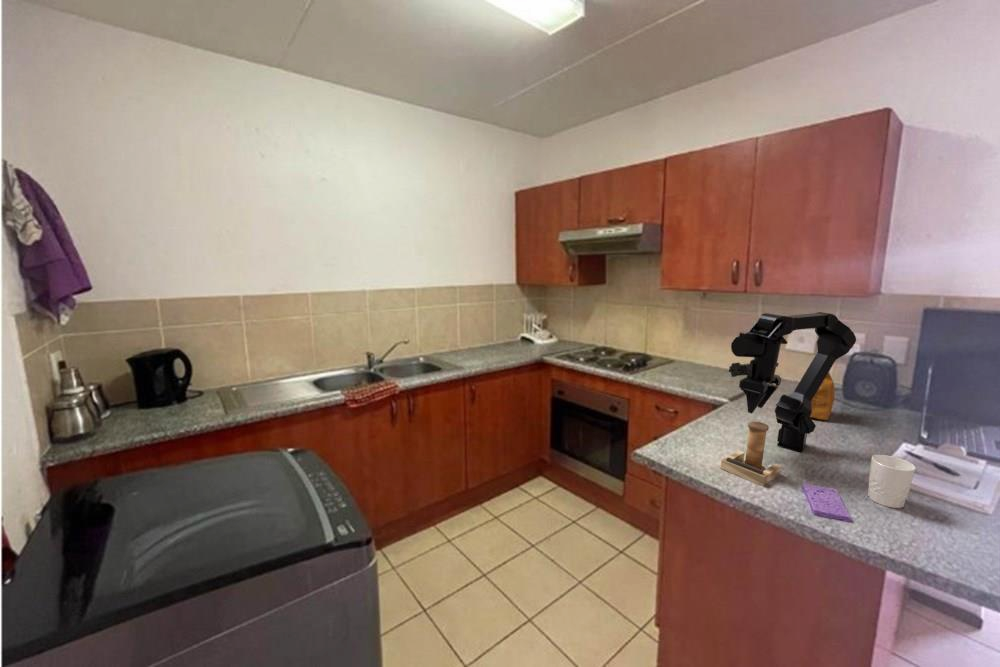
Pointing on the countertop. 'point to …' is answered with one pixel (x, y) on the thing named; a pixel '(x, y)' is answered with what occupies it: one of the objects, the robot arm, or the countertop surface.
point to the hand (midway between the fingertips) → (755, 410)
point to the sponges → (825, 502)
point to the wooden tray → (749, 469)
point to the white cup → (890, 480)
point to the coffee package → (823, 399)
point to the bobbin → (756, 444)
